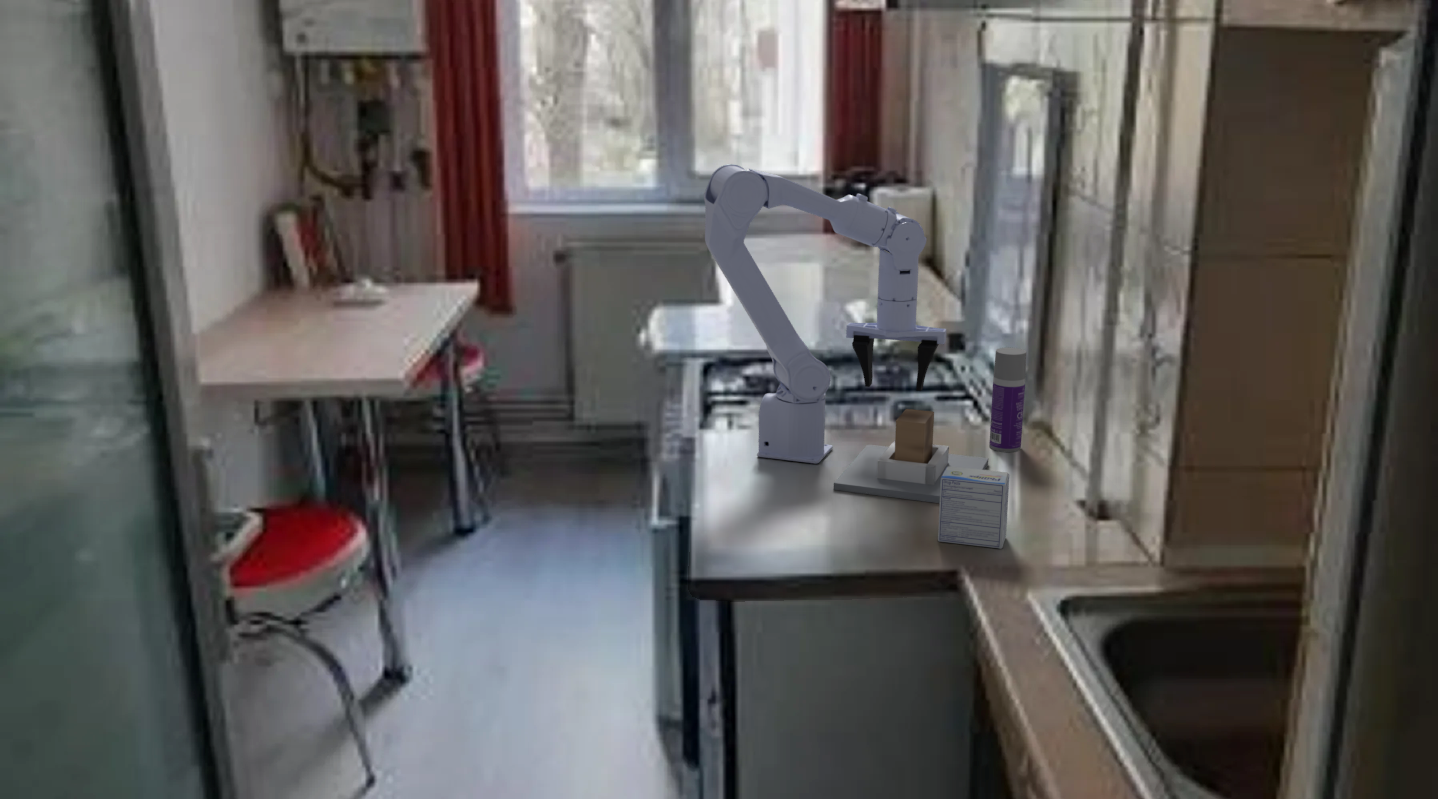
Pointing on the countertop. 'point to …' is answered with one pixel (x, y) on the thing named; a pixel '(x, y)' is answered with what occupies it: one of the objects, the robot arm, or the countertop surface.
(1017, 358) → the container
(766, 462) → the countertop surface
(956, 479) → the medicine box
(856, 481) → the socket plate
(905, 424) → the walnut peg
